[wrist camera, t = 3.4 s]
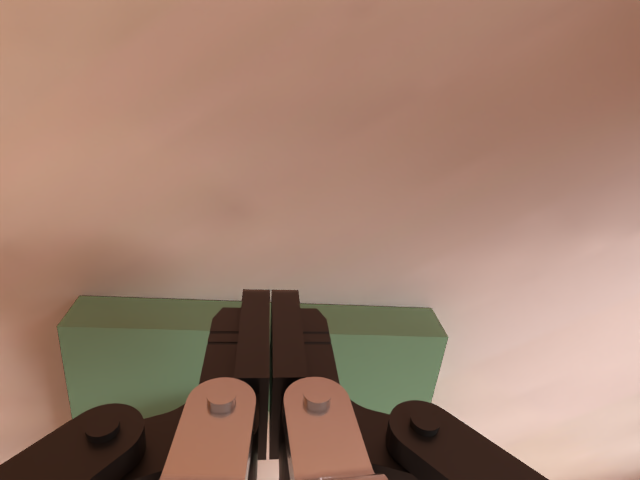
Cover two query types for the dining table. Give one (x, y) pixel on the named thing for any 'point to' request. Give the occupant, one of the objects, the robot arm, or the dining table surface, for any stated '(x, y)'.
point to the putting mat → (192, 338)
